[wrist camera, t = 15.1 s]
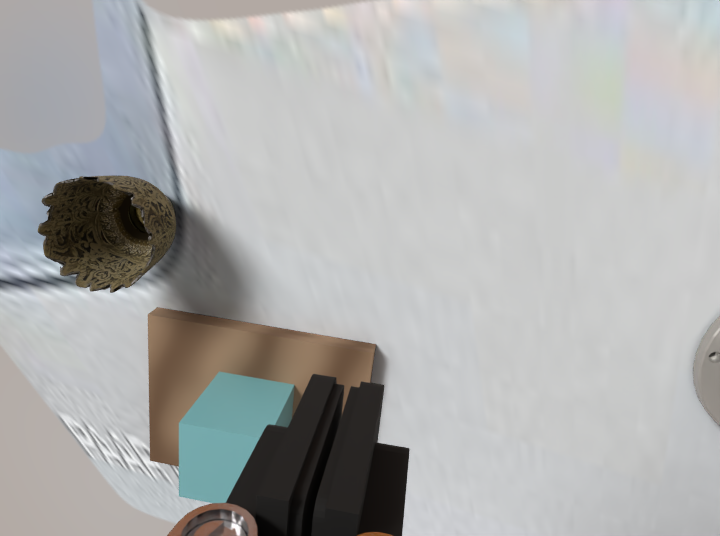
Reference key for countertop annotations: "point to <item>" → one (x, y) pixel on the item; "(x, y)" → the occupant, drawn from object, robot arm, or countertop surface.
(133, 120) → the countertop surface
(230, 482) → the aqua foam cube
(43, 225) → the olive patterned hollow container
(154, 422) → the walnut board
